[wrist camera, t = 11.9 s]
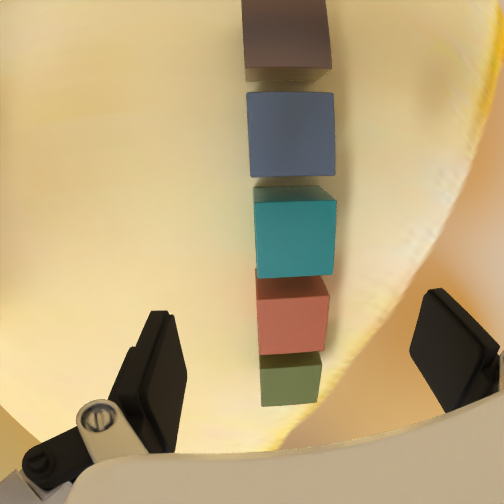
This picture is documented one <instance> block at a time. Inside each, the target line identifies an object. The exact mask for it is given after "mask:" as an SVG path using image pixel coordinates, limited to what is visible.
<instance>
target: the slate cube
mask: <svg viewBox="0 0 504 504" xmlns="http://www.w3.org/2000/svg"><path fill="white" fill-rule="evenodd" d="M246 98H247V118H248V137H249V157H250V176H251V177H252V178H253V177H279V176H334V175H335V119H334V94H333V93H325V92H249V93H247V94H246Z"/></svg>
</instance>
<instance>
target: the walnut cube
mask: <svg viewBox="0 0 504 504" xmlns="http://www.w3.org/2000/svg"><path fill="white" fill-rule="evenodd" d="M241 3H242V22H243V41H244V60H245V76H246V82H263V81H306V82H315V81H316V80H317V79H319V78H320V77H322V76H323V75H324V74H326V73H327V72H328V71H330V70H331V69H332V60H331V48H330V37H329V27H328V18H327V10H326V2H325V0H241Z"/></svg>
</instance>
